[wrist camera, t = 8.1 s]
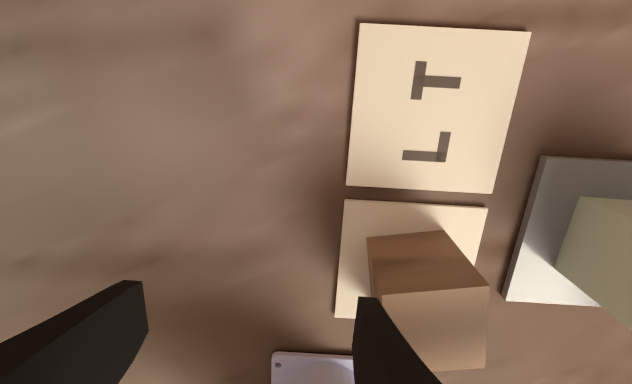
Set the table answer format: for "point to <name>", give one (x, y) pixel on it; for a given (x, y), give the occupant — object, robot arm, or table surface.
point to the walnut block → (432, 297)
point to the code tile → (432, 106)
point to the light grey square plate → (558, 225)
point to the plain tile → (392, 220)
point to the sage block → (601, 254)
